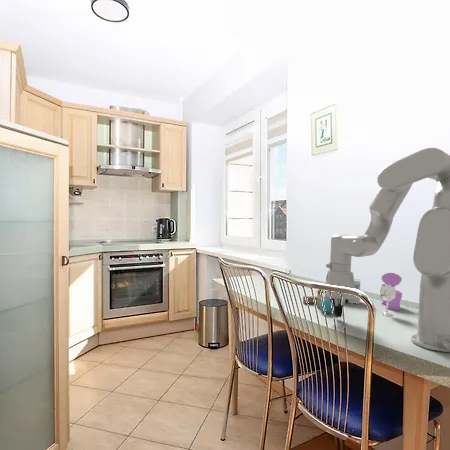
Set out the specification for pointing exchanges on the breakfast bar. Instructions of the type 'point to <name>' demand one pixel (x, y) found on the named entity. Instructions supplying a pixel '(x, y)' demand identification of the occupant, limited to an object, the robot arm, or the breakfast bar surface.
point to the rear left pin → (319, 298)
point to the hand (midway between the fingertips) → (337, 315)
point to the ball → (326, 306)
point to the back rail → (310, 300)
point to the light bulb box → (357, 286)
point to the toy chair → (395, 280)
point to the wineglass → (387, 296)
